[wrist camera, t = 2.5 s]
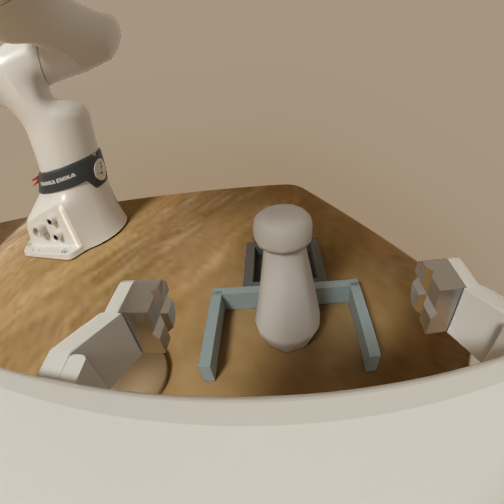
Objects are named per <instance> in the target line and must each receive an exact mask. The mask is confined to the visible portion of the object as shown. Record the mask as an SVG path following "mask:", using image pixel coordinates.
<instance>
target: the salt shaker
mask: <svg viewBox="0 0 504 504" xmlns="http://www.w3.org/2000/svg"><path fill="white" fill-rule="evenodd" d="M312 227H313V223H312V218H311V215H310V214H309V213H308V212H307V211H306V210H304V209H303V208H302V207H299V206H296V205H292V204H277V205H272V206H269V207H266V208H264V209H263V210H261V211H260V212H259V213H258V214H257V215H256V216H255V218H254V222H253V235H254V239H255V241H256V243H257V244H258V246H259V248H260V249H262V250H263V259H262V270H261V280H260V289H259V297H258V305H257V313H256V321H255V322H256V325H257V327H258V330H259V332H260V335H261V336H262V337H263V339H264V340H265V341H266V342H267V343H268V344H269V345H270V346H272V347H274V348H276V349H279V350H281V351H283V352H285V353H288V352H291V351H294V350H297V349H300V348H304V347H305V346H306V345H307V344H308V342H309V341H310V340H311V338H312V337H313V335H314V334H315V332H316V331H317V329H318V328H319V324H320V310H319V305H318V300H317V295H316V291H315V286H314V281H313V276H312V272H311V267H310V262H309V258H308V253H307V249H306V246H307V245H308V244H309V243H310V242H311V239H312Z"/></svg>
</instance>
